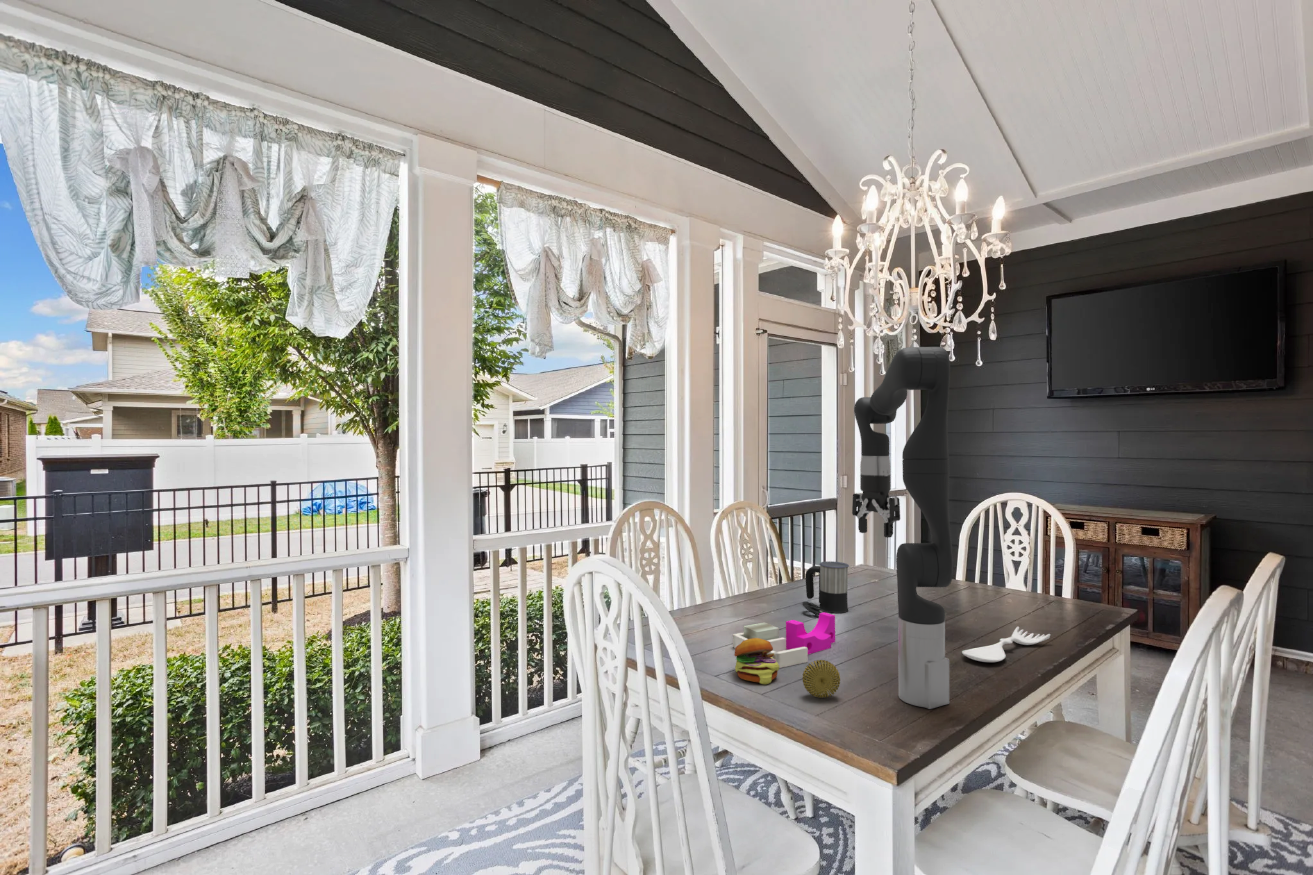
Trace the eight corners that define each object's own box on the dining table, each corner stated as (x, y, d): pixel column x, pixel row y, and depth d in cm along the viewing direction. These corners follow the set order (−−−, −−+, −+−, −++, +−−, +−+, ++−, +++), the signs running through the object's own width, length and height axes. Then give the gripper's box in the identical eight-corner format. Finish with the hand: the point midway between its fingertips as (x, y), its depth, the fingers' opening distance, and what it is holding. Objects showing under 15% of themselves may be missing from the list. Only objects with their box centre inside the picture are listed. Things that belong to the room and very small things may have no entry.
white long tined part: (1052, 645, 175) (1052, 632, 175) (990, 671, 157) (990, 656, 157) (1017, 637, 183) (1017, 624, 183) (954, 660, 164) (954, 646, 164)
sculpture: (837, 693, 143) (837, 657, 143) (842, 701, 139) (842, 663, 139) (800, 693, 143) (800, 656, 143) (804, 700, 139) (804, 663, 139)
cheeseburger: (746, 687, 146) (741, 641, 148) (728, 682, 156) (724, 639, 158) (787, 682, 149) (781, 636, 151) (767, 677, 159) (762, 634, 161)
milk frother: (848, 607, 214) (848, 561, 214) (849, 620, 199) (849, 571, 199) (804, 604, 218) (804, 559, 218) (801, 617, 203) (801, 569, 203)
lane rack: (807, 661, 163) (807, 647, 163) (775, 668, 158) (775, 654, 158) (763, 641, 179) (763, 628, 178) (732, 647, 174) (732, 634, 174)
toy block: (803, 656, 168) (803, 626, 167) (786, 649, 173) (785, 621, 173) (842, 645, 176) (842, 617, 176) (824, 639, 181) (824, 612, 181)
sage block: (779, 651, 171) (779, 628, 171) (757, 655, 168) (757, 632, 168) (764, 644, 177) (764, 622, 177) (743, 648, 173) (743, 626, 173)
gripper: (844, 472, 176) (845, 532, 176) (886, 475, 164) (886, 539, 164) (865, 471, 180) (865, 530, 180) (907, 474, 167) (907, 537, 167)
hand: (875, 534), depth 172 cm, fingers open, 8 cm apart
